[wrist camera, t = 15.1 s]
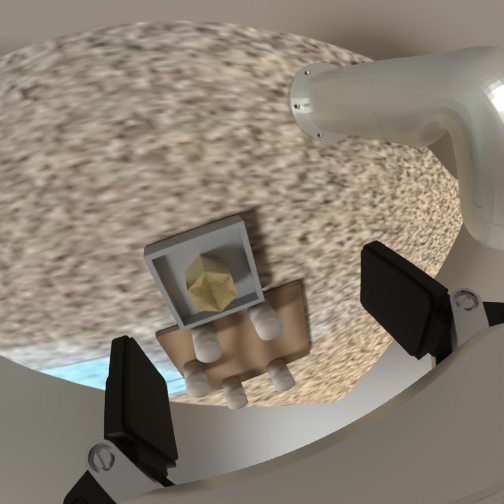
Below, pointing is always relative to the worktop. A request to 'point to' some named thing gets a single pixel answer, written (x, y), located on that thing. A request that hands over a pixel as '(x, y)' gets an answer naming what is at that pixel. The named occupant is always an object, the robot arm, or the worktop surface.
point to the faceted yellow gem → (209, 283)
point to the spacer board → (241, 346)
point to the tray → (212, 244)
